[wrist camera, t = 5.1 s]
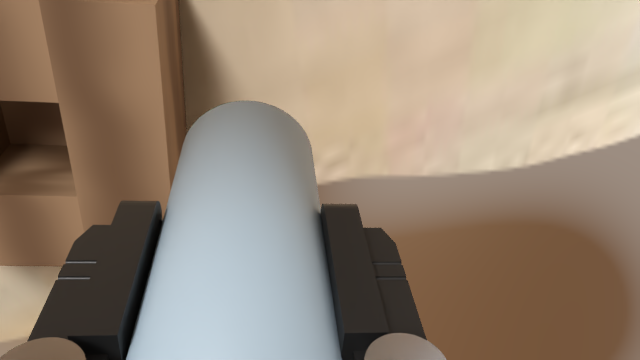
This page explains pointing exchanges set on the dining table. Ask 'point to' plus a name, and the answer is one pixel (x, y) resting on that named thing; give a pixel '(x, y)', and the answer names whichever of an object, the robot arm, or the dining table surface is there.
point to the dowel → (240, 247)
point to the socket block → (84, 117)
